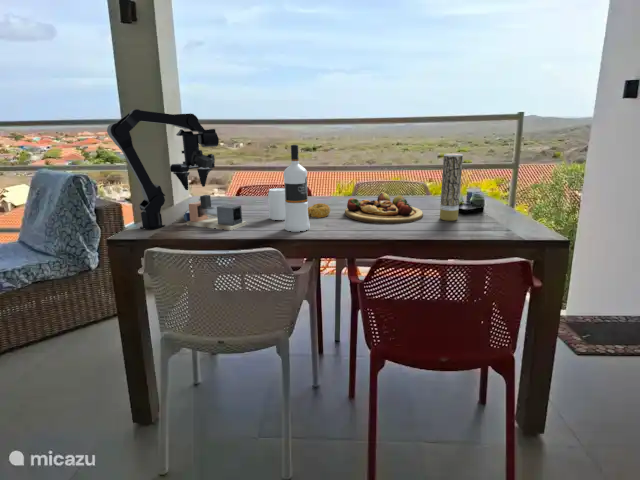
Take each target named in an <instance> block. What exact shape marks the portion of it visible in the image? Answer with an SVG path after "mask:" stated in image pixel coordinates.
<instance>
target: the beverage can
mask: <svg viewBox="0 0 640 480" xmlns="http://www.w3.org/2000/svg"><path fill="white" fill-rule="evenodd" d="M268 190H269V191H268V193H267V199H268V215H269V217H268V218H269V219H270V220H272V221H275V220H282V221H285V187H275V188H270V189H268Z"/></svg>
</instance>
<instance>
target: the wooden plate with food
mask: <svg viewBox="0 0 640 480" xmlns="http://www.w3.org/2000/svg"><path fill="white" fill-rule="evenodd" d="M345 208H346V209H345V210H344V214H345V215H346V217H348V218H349V219H351V220H355V221H357V222H363V223H370V224H379V225H383V224H384V225H385V224H387V225H393V224H406V223H412V222H416V221H419V220H421V219H422V218H423V217H424V213H423V211H422V209H420V208H417V207H414V206H412V205H410V203H408V200H407V199H406V198H405V197H404V196H402V194H398V195H397V196H395V197H394V198H393V199H392V201H391V198H390V195H388V194H387V193H386V192H384V191H382V192H381V193H380V194H379V195H378V196H377V199H376V200H369V199H363V200H361V201H359V200H358V199H357V198H355V197H351V198H349V199H348V200H347V203H346V207H345Z"/></svg>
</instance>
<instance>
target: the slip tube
mask: <svg viewBox="0 0 640 480" xmlns="http://www.w3.org/2000/svg"><path fill="white" fill-rule="evenodd" d="M199 198H200V201H201V206H197V209H198V215H203V216H208V217H212V218H218V217H217V207H218V206H215V207H214V206H212V201H211V198H212V197H211V194H210V195H209V194H204V195H199Z"/></svg>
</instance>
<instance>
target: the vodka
mask: <svg viewBox="0 0 640 480" xmlns="http://www.w3.org/2000/svg"><path fill="white" fill-rule="evenodd" d="M290 157H291V160H290V161H291V163H290V165H289V166H287V167H286V168H285V169H284V170H283V183H284V188H285V220H284V223H283V224H284V225H283V226H284V229H285V231H287V232H289V231H291V232H290V233H301V232H300V231H303V232H306V230H307V231H308V230H310V227H311V225H310V224H311V223H310V217H308V206H309V202H308V200H309V199H308V197H309V196H308V170H307V169H306V168H305V167H304V166H303V165H301V164H300V161H299V145H298V144H291V145H290Z"/></svg>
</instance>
